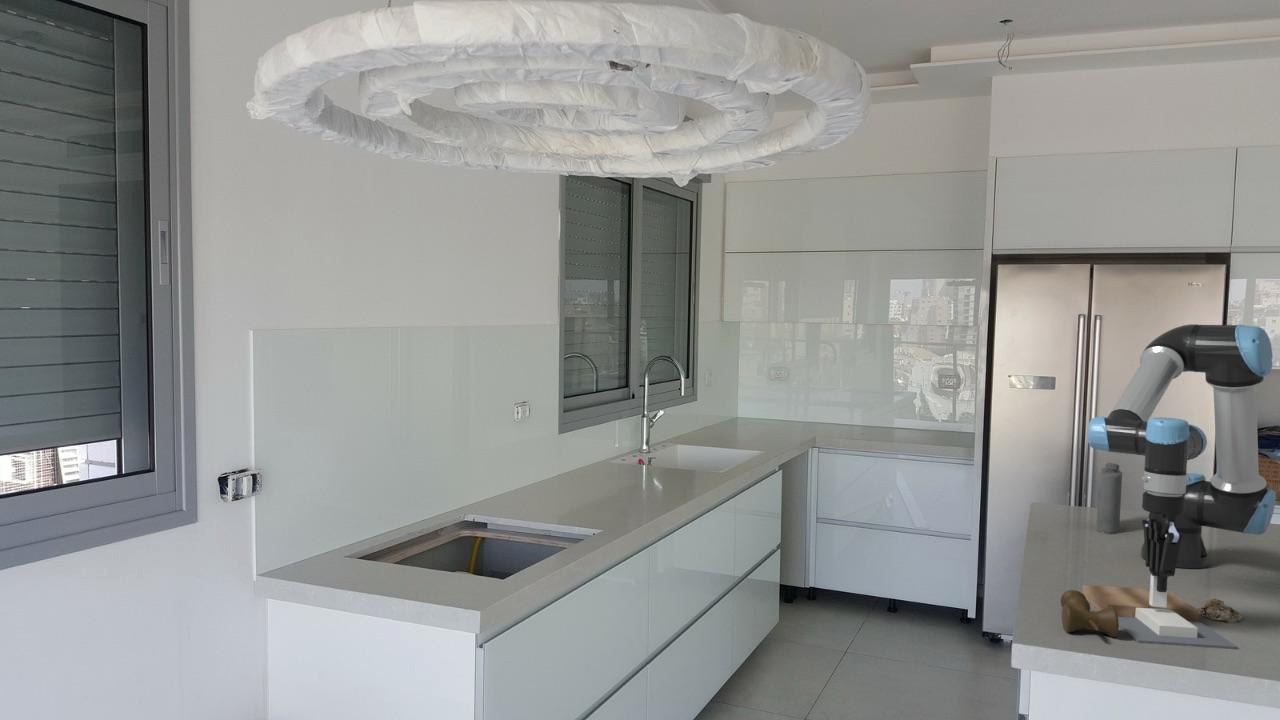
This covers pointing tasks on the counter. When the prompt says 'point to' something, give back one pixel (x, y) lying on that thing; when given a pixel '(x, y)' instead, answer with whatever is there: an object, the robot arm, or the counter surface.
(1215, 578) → the counter surface
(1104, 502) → the flask
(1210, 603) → the mineral rock
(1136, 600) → the tan wooden board
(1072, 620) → the kendama
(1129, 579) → the counter surface
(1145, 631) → the mat
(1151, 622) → the stone tile
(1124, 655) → the counter surface
